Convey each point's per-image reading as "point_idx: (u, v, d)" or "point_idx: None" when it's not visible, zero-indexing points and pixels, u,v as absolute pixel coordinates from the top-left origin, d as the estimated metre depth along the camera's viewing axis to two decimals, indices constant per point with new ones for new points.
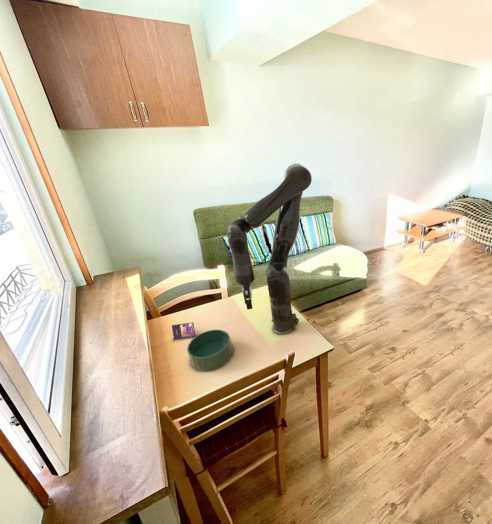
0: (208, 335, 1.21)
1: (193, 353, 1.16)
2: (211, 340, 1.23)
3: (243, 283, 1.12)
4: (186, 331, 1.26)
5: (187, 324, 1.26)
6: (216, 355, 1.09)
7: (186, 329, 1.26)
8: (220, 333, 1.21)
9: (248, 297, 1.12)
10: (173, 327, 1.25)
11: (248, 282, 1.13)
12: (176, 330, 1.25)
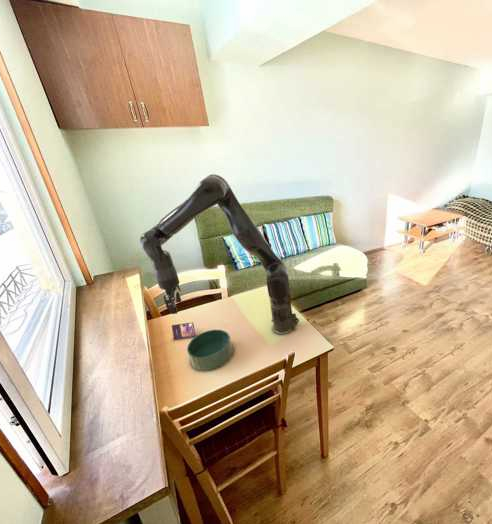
0: (208, 335, 1.21)
1: (193, 353, 1.16)
2: (211, 340, 1.23)
3: (164, 288, 1.12)
4: (186, 331, 1.26)
5: (187, 324, 1.26)
6: (216, 355, 1.09)
7: (186, 329, 1.26)
8: (220, 333, 1.21)
9: (169, 302, 1.12)
10: (173, 327, 1.25)
11: (170, 287, 1.13)
12: (176, 330, 1.25)
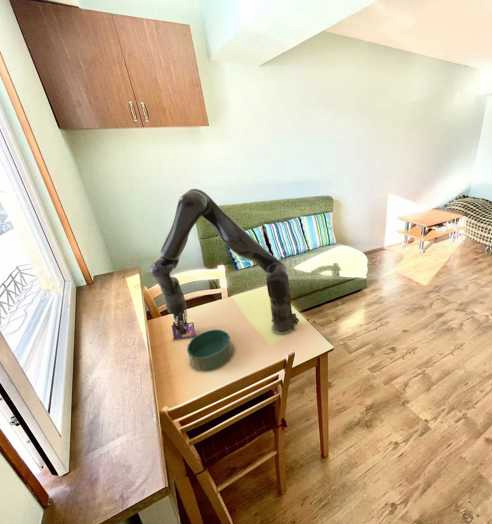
0: (208, 335, 1.21)
1: (193, 353, 1.16)
2: (211, 340, 1.23)
3: (173, 312, 1.18)
4: (186, 331, 1.26)
5: (187, 324, 1.26)
6: (216, 355, 1.09)
7: (186, 329, 1.26)
8: (220, 333, 1.21)
9: (179, 326, 1.19)
10: (173, 327, 1.25)
11: (178, 311, 1.19)
12: (176, 330, 1.25)
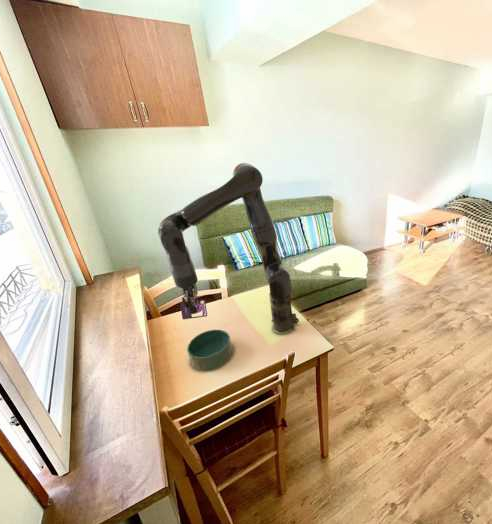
0: (208, 335, 1.21)
1: (193, 353, 1.16)
2: (211, 340, 1.23)
3: (182, 286, 1.00)
4: (197, 310, 1.08)
5: (198, 301, 1.08)
6: (216, 355, 1.09)
7: (197, 308, 1.08)
8: (220, 333, 1.21)
9: (189, 303, 1.01)
10: (182, 305, 1.07)
11: (188, 285, 1.01)
12: (185, 309, 1.07)
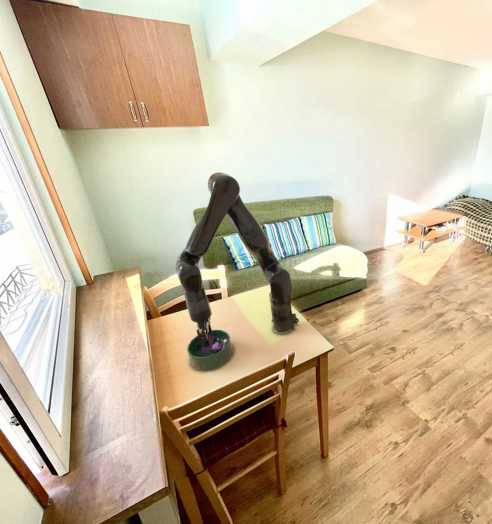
0: None
1: (193, 353, 1.16)
2: None
3: (197, 321, 1.04)
4: (217, 346, 1.16)
5: (222, 339, 1.17)
6: (216, 355, 1.09)
7: (218, 344, 1.16)
8: (220, 333, 1.21)
9: (203, 336, 1.04)
10: None
11: (203, 319, 1.05)
12: None
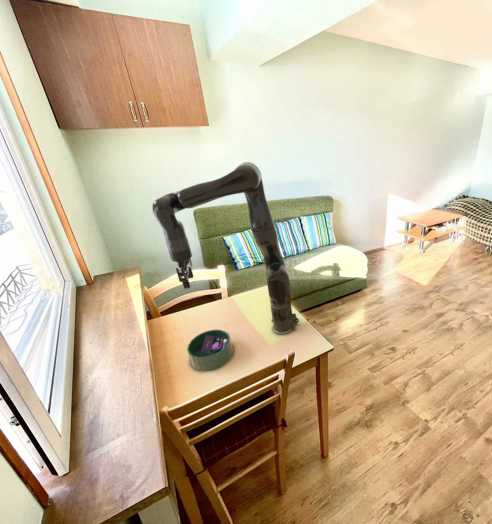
0: None
1: (193, 353, 1.16)
2: None
3: (177, 260, 1.07)
4: (217, 346, 1.16)
5: (222, 339, 1.17)
6: (216, 355, 1.09)
7: (218, 344, 1.16)
8: (220, 333, 1.21)
9: (182, 275, 1.06)
10: (206, 337, 1.15)
11: (183, 259, 1.07)
12: (207, 342, 1.15)
